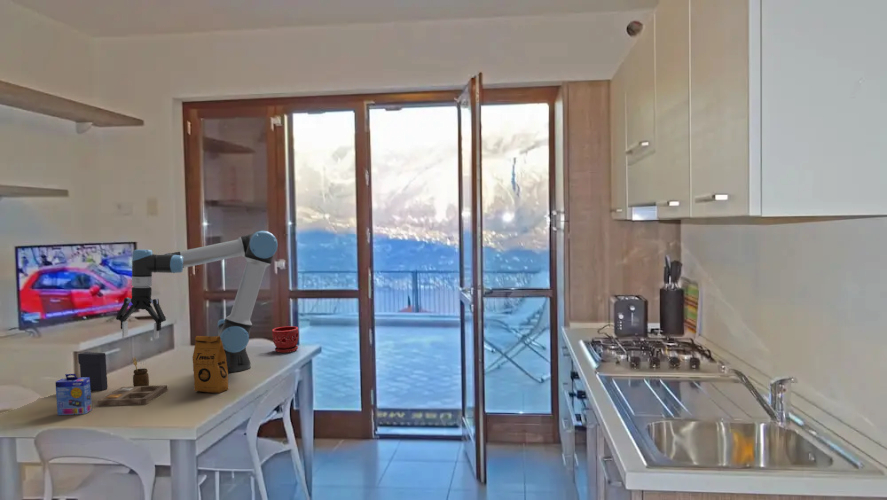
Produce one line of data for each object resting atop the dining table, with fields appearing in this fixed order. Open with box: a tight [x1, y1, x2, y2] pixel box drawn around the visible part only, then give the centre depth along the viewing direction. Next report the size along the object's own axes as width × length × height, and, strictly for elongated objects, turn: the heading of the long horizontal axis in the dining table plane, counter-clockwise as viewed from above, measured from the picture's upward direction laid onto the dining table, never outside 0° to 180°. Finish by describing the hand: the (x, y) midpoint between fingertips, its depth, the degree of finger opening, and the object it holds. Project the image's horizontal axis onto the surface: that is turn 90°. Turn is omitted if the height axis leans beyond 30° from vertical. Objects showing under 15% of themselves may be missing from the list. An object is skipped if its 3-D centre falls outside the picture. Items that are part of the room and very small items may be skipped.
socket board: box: [96, 384, 168, 407], centre depth 252 cm, size 18×20×2 cm
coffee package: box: [192, 335, 229, 394], centre depth 258 cm, size 10×12×22 cm
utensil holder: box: [131, 357, 150, 387], centre depth 269 cm, size 6×6×12 cm
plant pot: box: [271, 325, 300, 354], centre depth 335 cm, size 13×13×12 cm
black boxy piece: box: [77, 351, 109, 392], centre depth 267 cm, size 11×4×15 cm, turn 71°
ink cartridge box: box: [54, 373, 93, 416], centre depth 233 cm, size 10×6×14 cm, turn 95°
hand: (140, 337), depth 271 cm, fingers open, 13 cm apart
